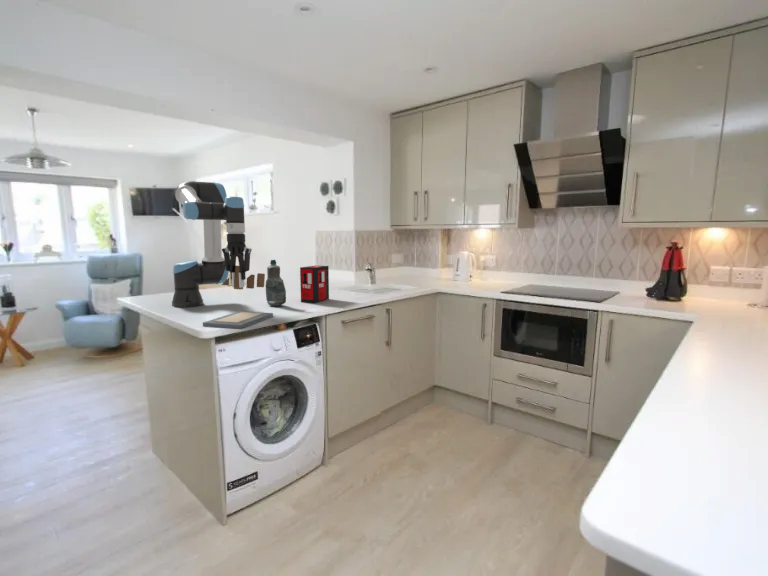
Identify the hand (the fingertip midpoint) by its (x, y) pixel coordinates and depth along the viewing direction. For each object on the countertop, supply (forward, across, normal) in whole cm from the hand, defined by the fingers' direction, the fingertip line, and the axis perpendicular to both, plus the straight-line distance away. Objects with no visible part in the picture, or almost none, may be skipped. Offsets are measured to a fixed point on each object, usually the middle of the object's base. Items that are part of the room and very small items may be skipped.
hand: (238, 286), depth 175 cm
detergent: (+15, -4, +38) cm, 42 cm away
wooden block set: (+2, 0, +3) cm, 4 cm away
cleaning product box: (+15, +10, +60) cm, 63 cm away
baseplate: (+15, 0, 0) cm, 15 cm away
